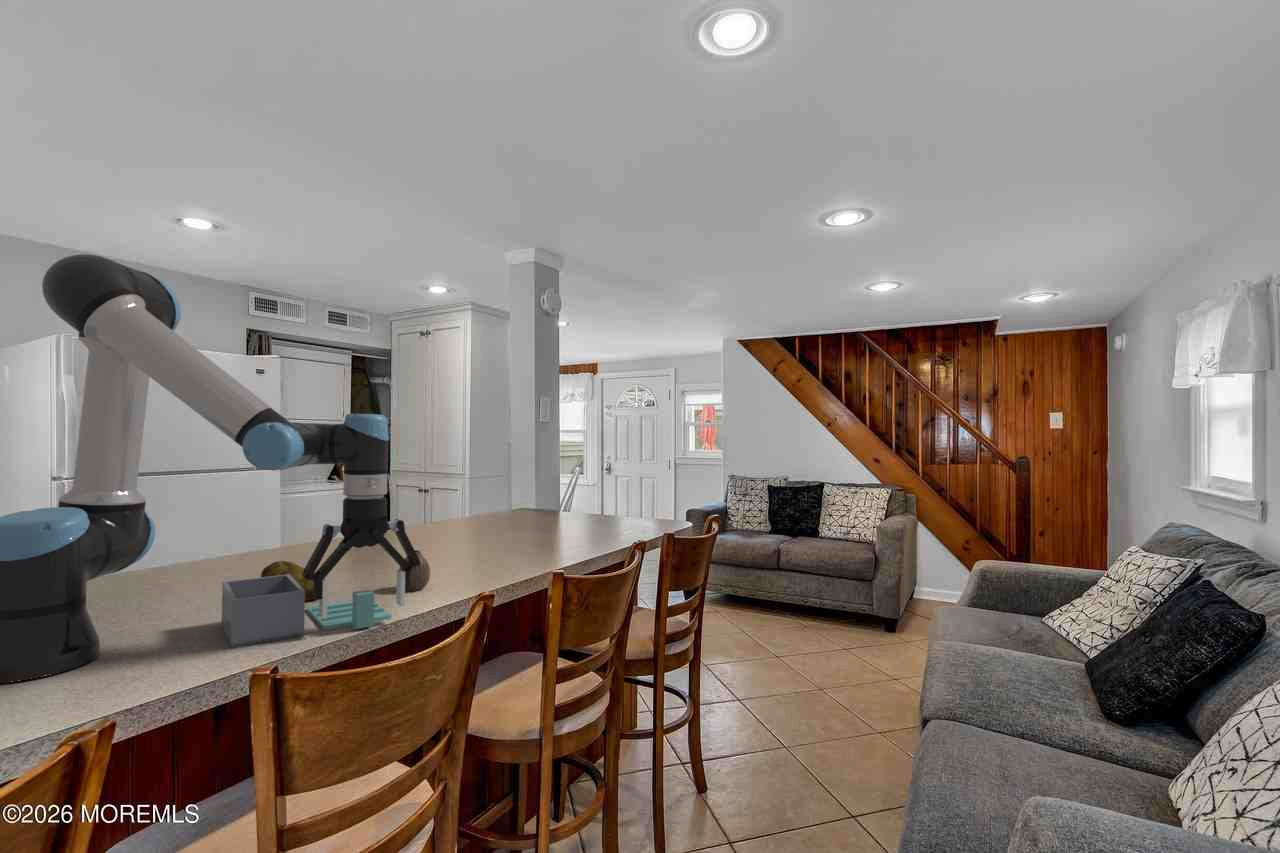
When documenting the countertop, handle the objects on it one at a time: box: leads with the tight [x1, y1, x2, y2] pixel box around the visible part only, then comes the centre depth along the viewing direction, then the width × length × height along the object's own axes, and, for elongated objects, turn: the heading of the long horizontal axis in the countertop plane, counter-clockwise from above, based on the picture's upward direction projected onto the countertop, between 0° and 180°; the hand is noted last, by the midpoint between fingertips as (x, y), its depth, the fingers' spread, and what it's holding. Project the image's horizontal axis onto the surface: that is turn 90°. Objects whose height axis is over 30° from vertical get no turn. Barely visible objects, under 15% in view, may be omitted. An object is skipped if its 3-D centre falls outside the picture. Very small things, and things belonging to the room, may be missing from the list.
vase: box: [399, 549, 431, 592], centre depth 143 cm, size 7×7×9 cm
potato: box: [260, 560, 316, 602], centre depth 133 cm, size 8×13×8 cm, turn 71°
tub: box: [221, 574, 306, 648], centre depth 113 cm, size 11×15×8 cm
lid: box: [306, 589, 392, 631], centre depth 122 cm, size 12×20×7 cm, turn 39°
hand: (363, 610), depth 116 cm, fingers open, 13 cm apart
